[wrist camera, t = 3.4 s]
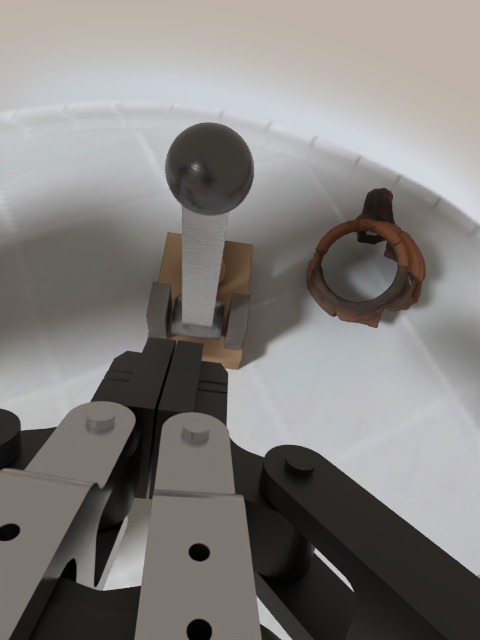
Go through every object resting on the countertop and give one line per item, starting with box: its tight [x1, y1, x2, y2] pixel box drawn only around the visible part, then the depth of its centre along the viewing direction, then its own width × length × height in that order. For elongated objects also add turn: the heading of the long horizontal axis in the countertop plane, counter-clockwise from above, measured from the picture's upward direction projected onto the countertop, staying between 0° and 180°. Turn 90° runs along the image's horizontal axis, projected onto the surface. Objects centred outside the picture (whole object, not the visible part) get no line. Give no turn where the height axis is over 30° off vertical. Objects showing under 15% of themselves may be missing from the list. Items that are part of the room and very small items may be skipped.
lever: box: [165, 123, 254, 340], centre depth 25 cm, size 4×4×18 cm
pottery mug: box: [307, 188, 425, 328], centre depth 38 cm, size 12×10×8 cm
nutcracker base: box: [146, 232, 253, 370], centre depth 35 cm, size 7×10×6 cm
